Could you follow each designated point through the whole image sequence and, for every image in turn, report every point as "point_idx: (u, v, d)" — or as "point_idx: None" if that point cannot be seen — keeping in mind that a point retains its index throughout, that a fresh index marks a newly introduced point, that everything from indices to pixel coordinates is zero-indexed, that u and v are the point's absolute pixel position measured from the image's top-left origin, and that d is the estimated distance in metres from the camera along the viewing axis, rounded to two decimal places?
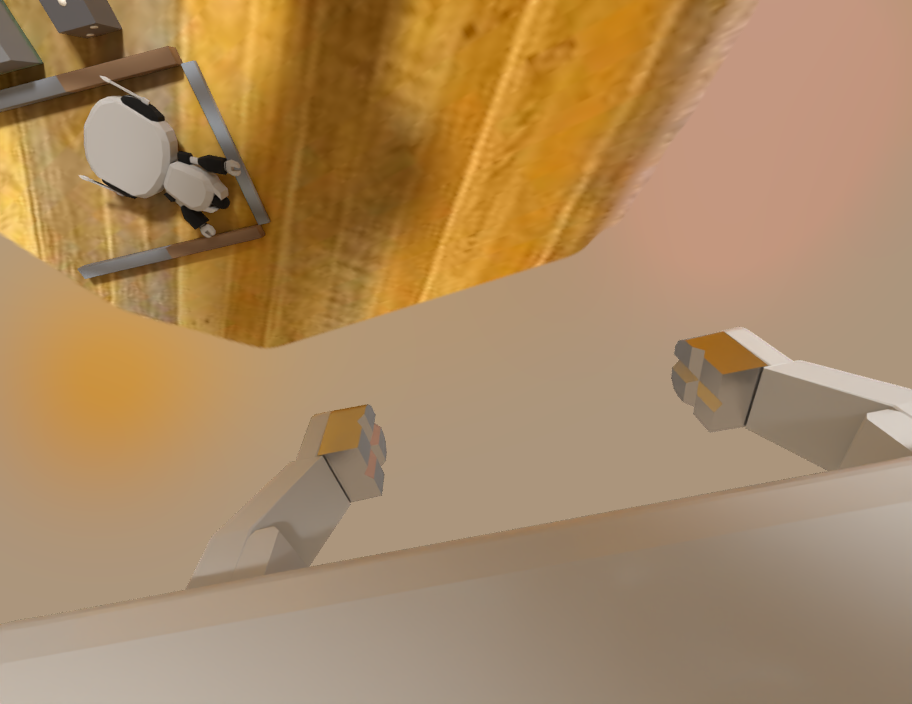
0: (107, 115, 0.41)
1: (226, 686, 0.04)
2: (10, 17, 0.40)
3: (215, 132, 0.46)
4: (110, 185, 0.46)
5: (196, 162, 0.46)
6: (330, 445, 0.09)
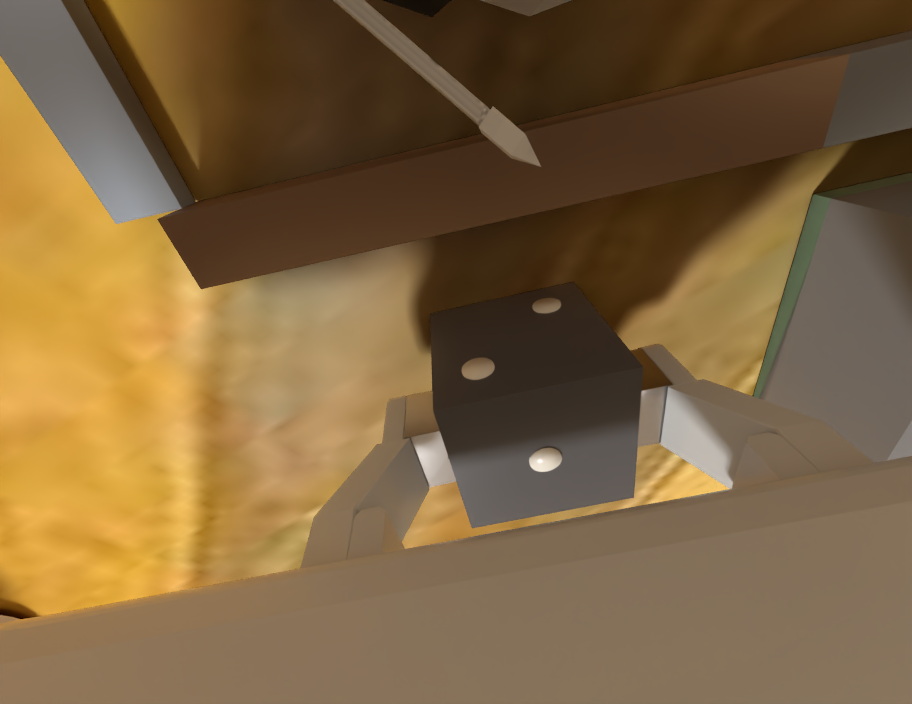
0: None
1: (226, 686, 0.04)
2: (786, 333, 0.11)
3: None
4: None
5: None
6: (416, 428, 0.09)
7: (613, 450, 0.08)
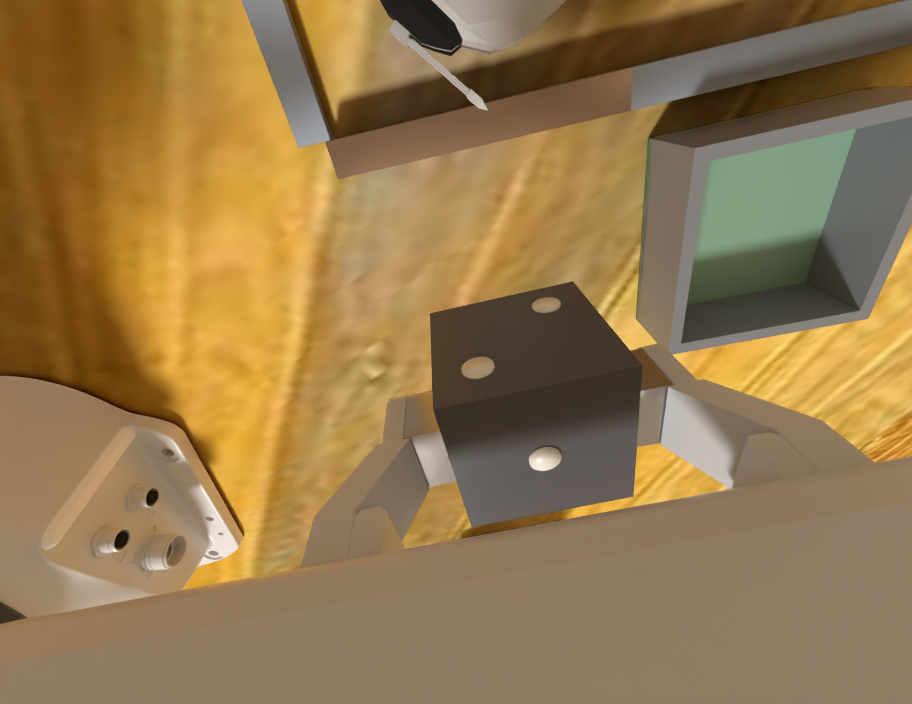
0: None
1: (226, 686, 0.04)
2: (646, 221, 0.20)
3: None
4: None
5: None
6: (416, 427, 0.09)
7: (612, 449, 0.08)
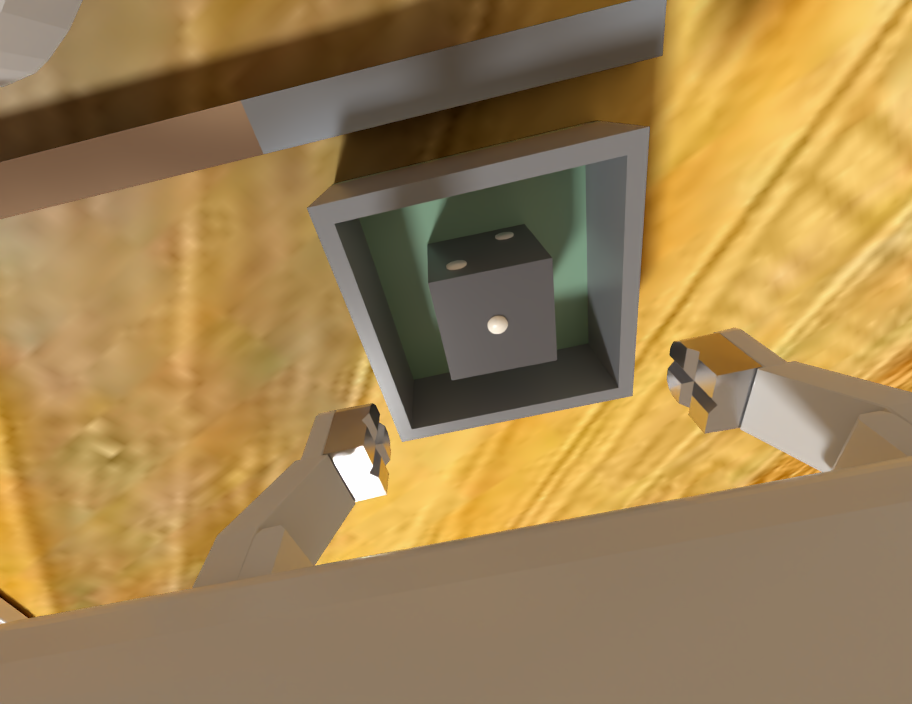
0: None
1: (226, 686, 0.04)
2: None
3: None
4: None
5: None
6: (336, 444, 0.09)
7: (540, 320, 0.13)
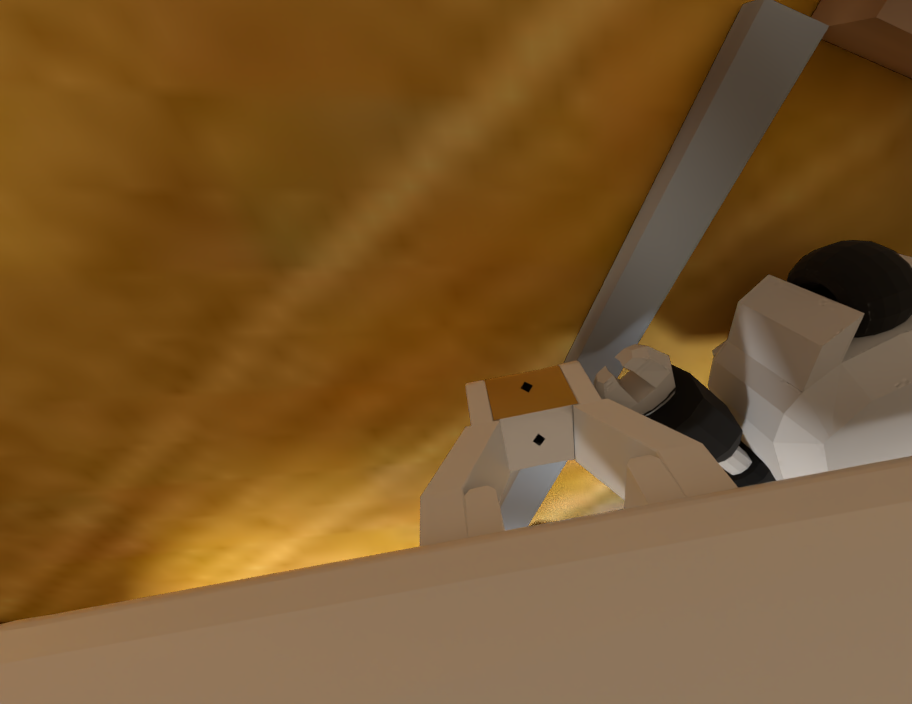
0: None
1: (226, 686, 0.04)
2: None
3: None
4: None
5: (734, 458, 0.10)
6: (503, 410, 0.09)
7: None
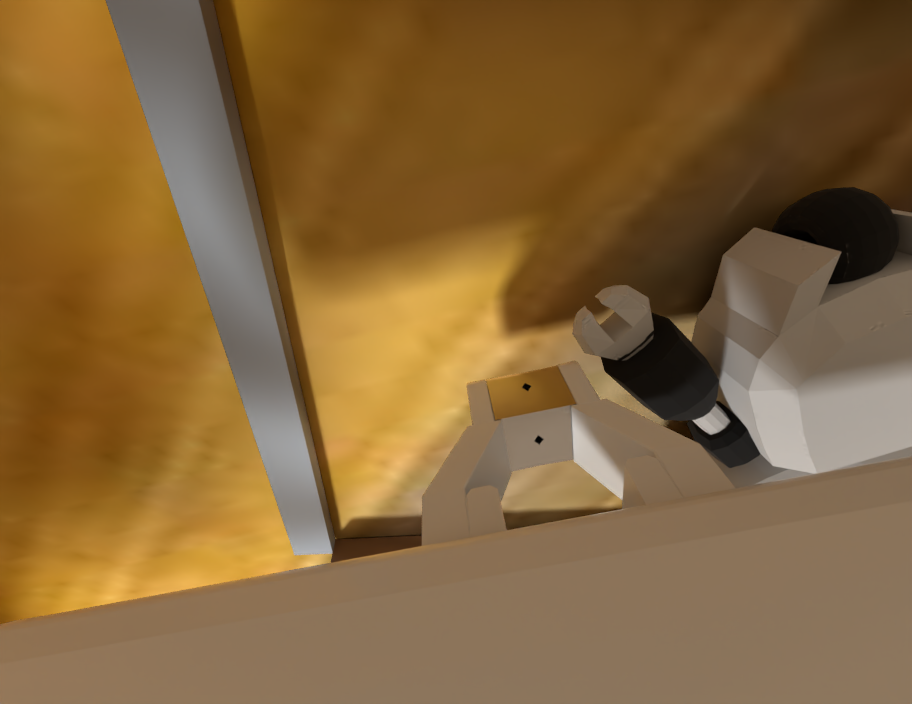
0: None
1: (226, 686, 0.04)
2: None
3: (296, 432, 0.12)
4: None
5: (711, 415, 0.10)
6: (505, 410, 0.09)
7: None
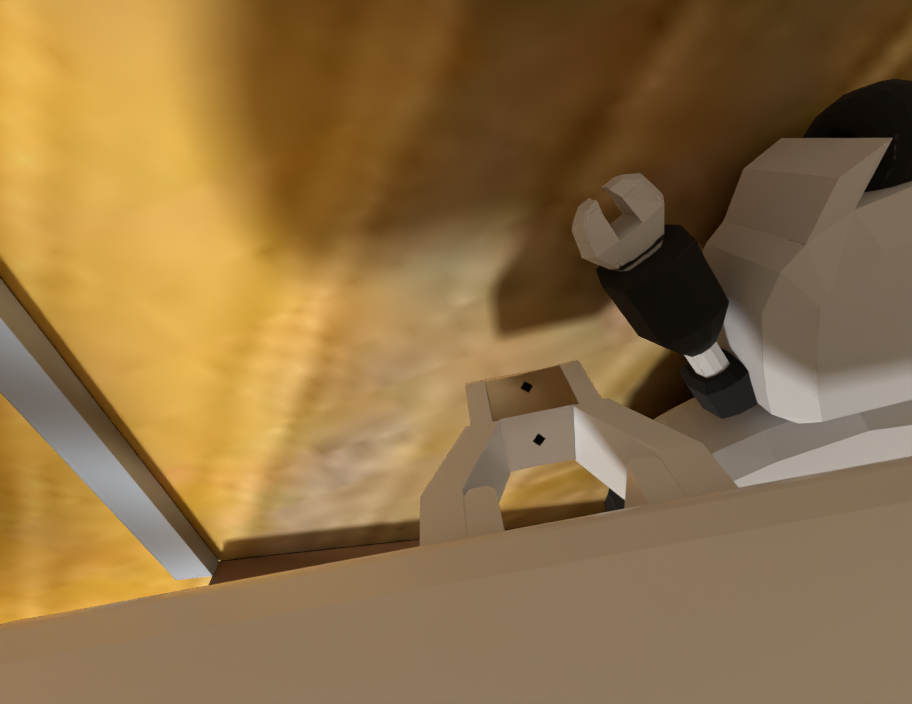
0: None
1: (226, 686, 0.04)
2: None
3: (115, 466, 0.12)
4: None
5: (711, 352, 0.09)
6: (503, 410, 0.09)
7: None
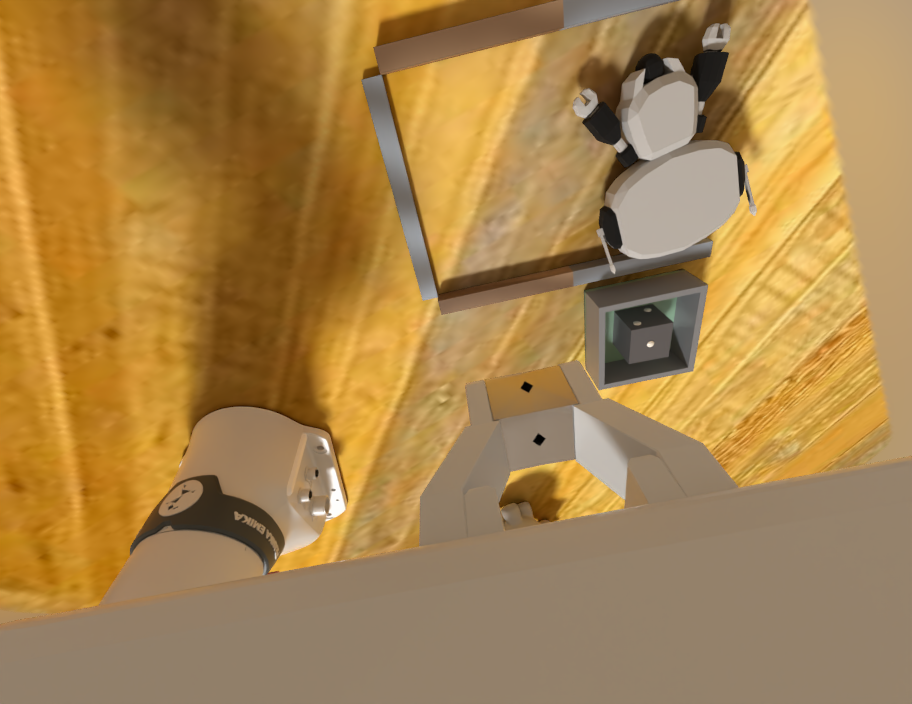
0: (649, 244, 0.32)
1: (226, 686, 0.04)
2: (586, 324, 0.41)
3: (418, 228, 0.34)
4: (741, 184, 0.31)
5: (620, 141, 0.30)
6: (503, 410, 0.09)
7: (665, 342, 0.38)
